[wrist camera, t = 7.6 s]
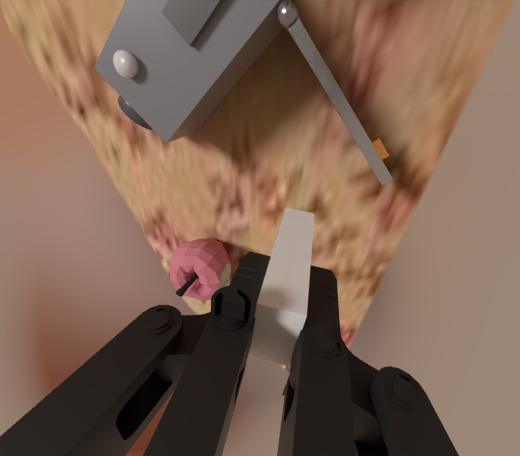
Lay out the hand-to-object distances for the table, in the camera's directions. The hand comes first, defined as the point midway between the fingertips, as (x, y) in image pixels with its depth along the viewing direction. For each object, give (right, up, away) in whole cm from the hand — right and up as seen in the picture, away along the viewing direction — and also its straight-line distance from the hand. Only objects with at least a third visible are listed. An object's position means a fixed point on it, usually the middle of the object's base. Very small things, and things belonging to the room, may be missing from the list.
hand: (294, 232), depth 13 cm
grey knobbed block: (-8, +19, +13) cm, 25 cm away
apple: (-9, -3, +27) cm, 29 cm away
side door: (+6, +14, +12) cm, 20 cm away
